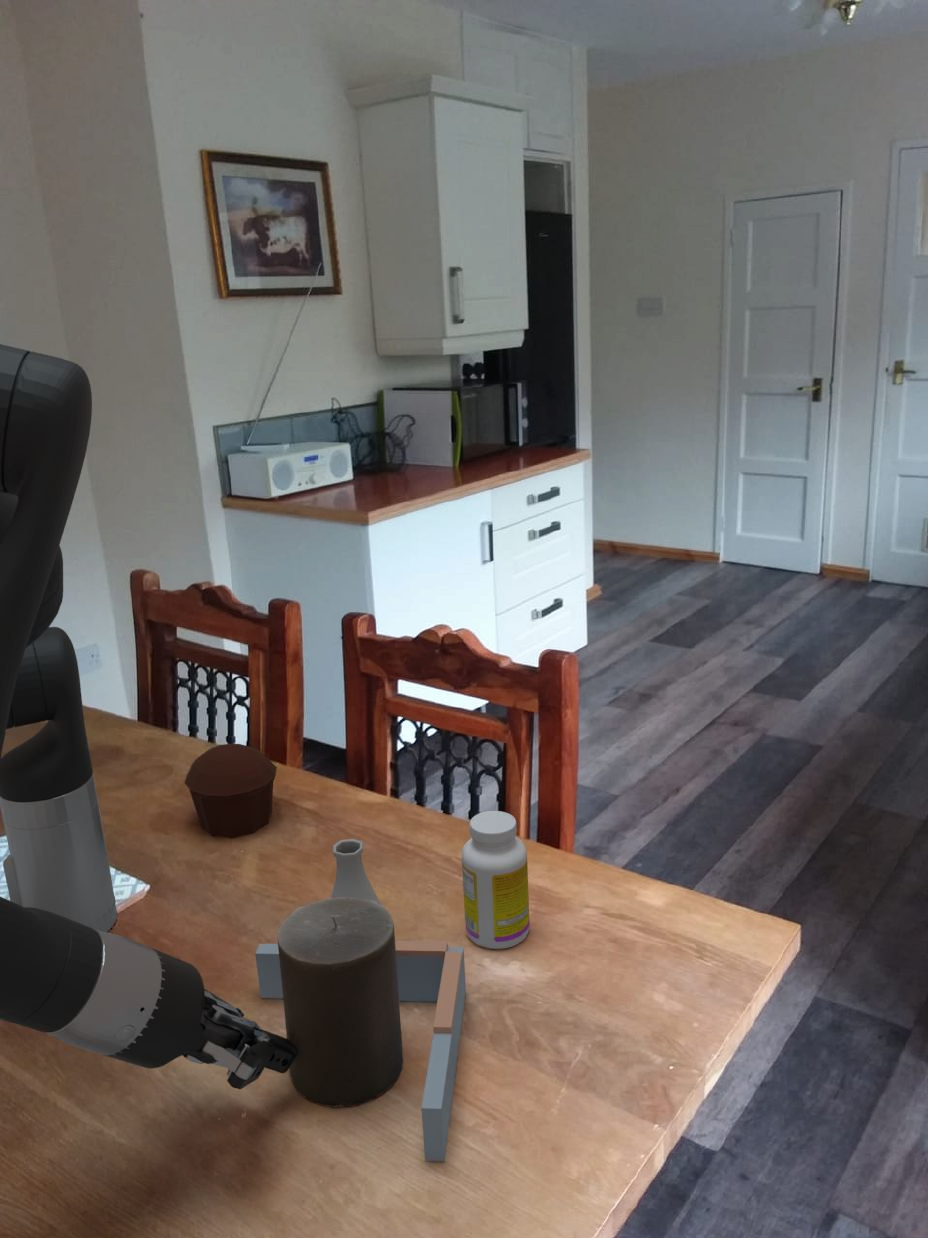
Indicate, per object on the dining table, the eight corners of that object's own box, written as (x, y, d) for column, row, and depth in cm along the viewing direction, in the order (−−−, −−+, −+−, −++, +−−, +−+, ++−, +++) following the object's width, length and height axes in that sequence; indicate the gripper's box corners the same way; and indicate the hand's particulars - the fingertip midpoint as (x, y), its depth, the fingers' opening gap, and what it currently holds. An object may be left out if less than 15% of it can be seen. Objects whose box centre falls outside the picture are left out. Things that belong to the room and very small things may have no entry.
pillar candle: (356, 1125, 78) (343, 965, 74) (266, 1079, 83) (249, 926, 79) (425, 1051, 86) (418, 901, 82) (339, 1013, 91) (327, 870, 87)
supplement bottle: (539, 921, 103) (536, 812, 100) (515, 958, 98) (511, 844, 94) (481, 908, 106) (476, 801, 102) (454, 943, 101) (448, 831, 97)
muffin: (300, 813, 128) (292, 743, 125) (239, 852, 120) (229, 778, 117) (234, 793, 135) (226, 725, 132) (172, 829, 126) (161, 757, 123)
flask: (378, 955, 99) (371, 868, 96) (310, 948, 101) (301, 862, 98) (397, 913, 106) (391, 830, 103) (333, 908, 108) (325, 826, 105)
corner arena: (195, 1152, 76) (186, 1094, 75) (265, 988, 95) (259, 938, 93) (444, 1162, 75) (440, 1102, 73) (465, 992, 93) (463, 941, 92)
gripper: (191, 995, 65) (358, 1058, 76) (117, 911, 75) (274, 977, 86) (124, 1100, 64) (304, 1149, 75) (57, 1000, 74) (225, 1056, 85)
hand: (288, 1057), depth 80 cm, fingers closed
